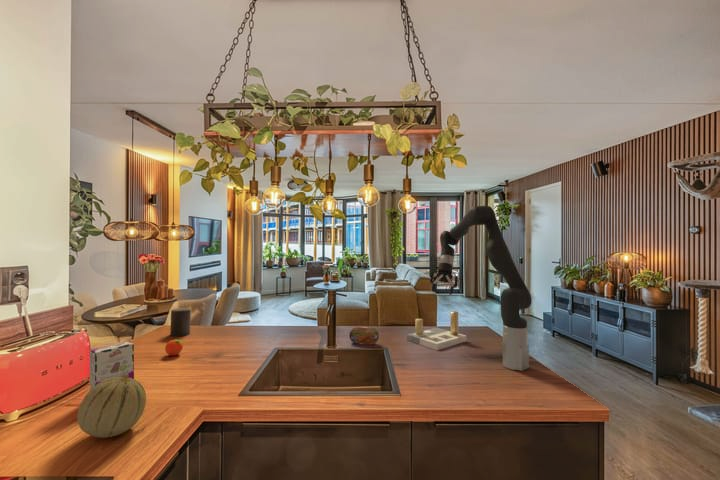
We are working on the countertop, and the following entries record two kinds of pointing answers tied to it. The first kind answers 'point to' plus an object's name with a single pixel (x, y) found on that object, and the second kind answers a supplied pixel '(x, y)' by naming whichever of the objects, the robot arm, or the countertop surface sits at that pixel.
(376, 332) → the tin
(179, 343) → the red tomato
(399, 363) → the countertop surface
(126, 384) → the cantaloupe
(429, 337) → the pegboard
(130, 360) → the candy bar box
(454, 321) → the brass pin
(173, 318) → the pillar candle
